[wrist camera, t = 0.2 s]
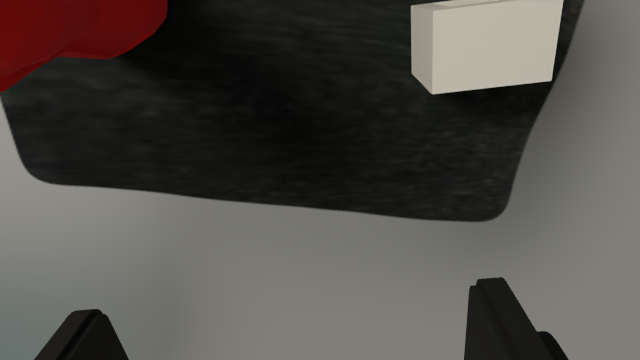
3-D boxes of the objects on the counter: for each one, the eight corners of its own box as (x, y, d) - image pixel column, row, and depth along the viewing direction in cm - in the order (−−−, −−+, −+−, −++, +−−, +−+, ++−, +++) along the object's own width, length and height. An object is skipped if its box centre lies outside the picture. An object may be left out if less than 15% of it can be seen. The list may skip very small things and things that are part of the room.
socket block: (410, 5, 35) (433, 10, 27) (514, -8, 34) (564, -6, 27) (411, 73, 37) (432, 94, 30) (507, 62, 37) (551, 80, 30)
